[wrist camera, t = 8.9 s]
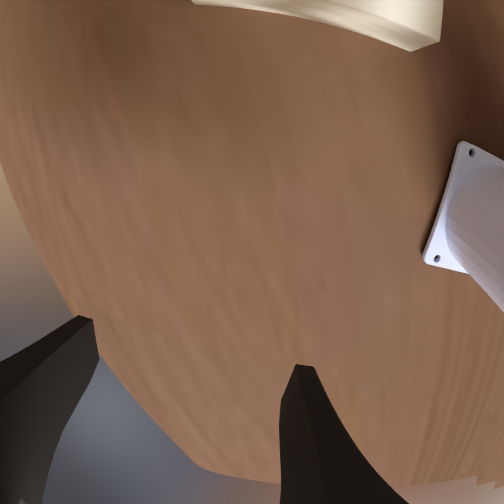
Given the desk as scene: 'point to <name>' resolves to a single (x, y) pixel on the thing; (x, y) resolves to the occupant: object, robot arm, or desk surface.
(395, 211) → the desk surface
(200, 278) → the desk surface
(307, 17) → the birch block
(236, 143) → the desk surface
